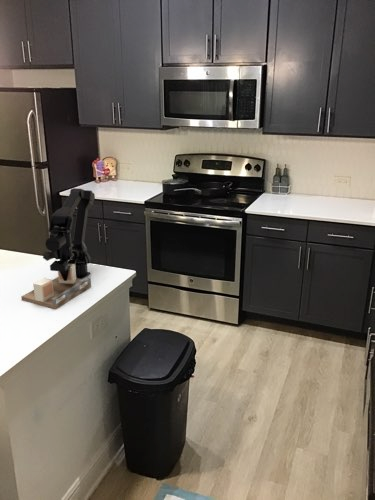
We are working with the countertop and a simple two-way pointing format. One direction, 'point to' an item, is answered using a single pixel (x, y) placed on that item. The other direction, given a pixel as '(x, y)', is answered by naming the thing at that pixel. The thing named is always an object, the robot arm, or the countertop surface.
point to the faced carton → (43, 289)
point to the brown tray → (60, 293)
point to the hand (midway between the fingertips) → (67, 278)
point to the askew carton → (69, 275)
